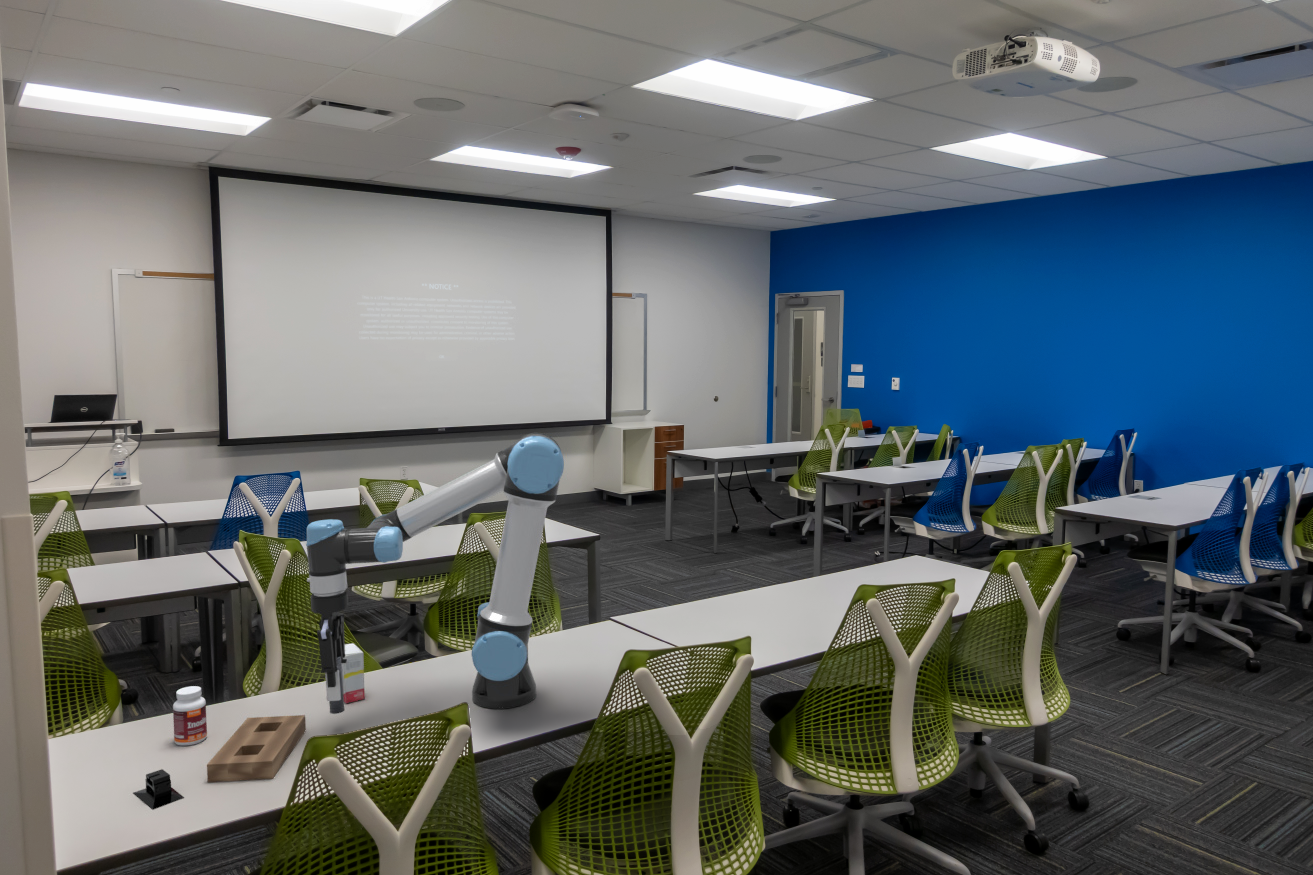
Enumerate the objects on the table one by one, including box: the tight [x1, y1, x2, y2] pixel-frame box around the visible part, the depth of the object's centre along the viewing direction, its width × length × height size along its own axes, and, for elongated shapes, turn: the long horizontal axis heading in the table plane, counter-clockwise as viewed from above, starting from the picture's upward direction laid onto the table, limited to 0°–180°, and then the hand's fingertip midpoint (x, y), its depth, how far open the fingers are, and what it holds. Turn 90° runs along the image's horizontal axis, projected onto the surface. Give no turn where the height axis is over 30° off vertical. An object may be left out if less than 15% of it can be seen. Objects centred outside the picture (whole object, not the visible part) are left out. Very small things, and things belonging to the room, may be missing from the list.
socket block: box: [206, 714, 307, 783], centre depth 177 cm, size 12×22×4 cm, turn 6°
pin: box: [328, 655, 345, 715], centre depth 189 cm, size 3×3×12 cm
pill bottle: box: [172, 685, 208, 747], centre depth 184 cm, size 6×6×11 cm
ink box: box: [341, 643, 366, 704], centre depth 208 cm, size 9×5×12 cm, turn 36°
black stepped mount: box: [132, 768, 185, 811], centre depth 161 cm, size 12×7×5 cm, turn 50°
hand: (336, 696), depth 189 cm, fingers closed on pin, 3 cm apart
